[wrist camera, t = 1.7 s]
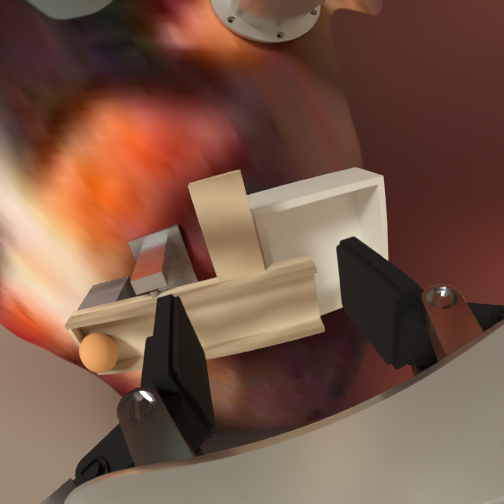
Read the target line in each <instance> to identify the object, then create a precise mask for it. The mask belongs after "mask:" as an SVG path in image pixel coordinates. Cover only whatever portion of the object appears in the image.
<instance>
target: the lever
mask: <svg viewBox="0 0 504 504" xmlns="http://www.w3.org/2000/svg"><path fill="white" fill-rule="evenodd" d="M188 188H189V191H190V194H191V198H192V201H193V204H194V207H195V210H196V214H197V217H198V220H199V223H200V226H201V229H202V232H203V236H204V239H205V242H206V245H207V248H208V251H209V254H210V257H211V260H212V263H213V266H214V269H215V272H216V275H217V277H216V278H212V279H208V280H204V281H200V282H196V283H192V284H188V285H184V286H179V287H175V288H171V289H167V290H163V291H159V290H158V289H155V290H151V291H149V294H146V295H142V296H138V295H136V293H135V291H134V289H133V287H132V285H131V282H130V281H131V280H130V278H129V276H128V277H124V278H120V279H116V280H112V281H109V282H105V283H101V284H97V285H93V287H92V288H91V290H90V291H89V293H88V294H87V296H86V297H85V299H84V300H83V302H82V304H81V305H80V307H79V308H78V310H76V311H74V312H73V313H72V315H71V316H70V318H69V320H68V321H67V323H66V324H65V327H66V328H67V330H68V332H69V333H70V335H71V336H72V338H73V339H74V341H75V342H76V344H77V345H78V347H79V348H80V345H81V342H82V340H83V339H84V338H85V337H86V336H88V335H89V334H92V333H102V334H105V335H107V336H108V337H110V338H111V339H112V340H113V342H114V343H115V345H116V347H117V350H118V358H117V362H116V364H115V366H114V367H113V368H112V369H111V370H109V371H107V372H103V373H98V375H104V374H114V373H123V372H131V371H139V370H142V367H143V358H144V350H145V341H146V338H147V337H150V336H153V330H154V321H155V312H156V304H157V298H159V297H163V296H166V295H169V294H173V296H174V297H176V296H179V297H180V299H181V301H182V304H183V306H184V308H185V311H186V313H187V315H188V317H189V320H190V322H191V324H192V326H193V328H194V331H195V333H196V335H197V337H198V339H199V341H200V343H201V346H202V348H203V350H204V353H205V357H206V360H207V359H213V358H218V357H223V356H228V355H232V354H237V353H242V352H246V351H251V350H255V349H259V348H264V347H268V346H272V345H276V344H280V343H284V342H288V341H292V340H296V339H299V338H303V337H307V336H311V335H314V334H318V333H321V332H325V328H324V325H323V323H322V321H321V319H320V313H319V305H318V298H317V291H316V284H315V278H314V273H317V268H316V266H315V264H314V262H313V261H312V259H311V257H310V256H309V254H307V255H303V256H299V257H295V258H292V259H288V260H284V261H280V262H276V263H272V264H268V265H264V263H263V259H262V255H261V251H260V247H259V243H258V239H257V235H256V231H255V227H254V223H253V219H252V215H251V211H250V207H249V203H248V200H247V196H246V192H245V188H244V184H243V180H242V176H241V172H240V170H236V171H232V172H229V173H225V174H221V175H217V176H214V177H210V178H206V179H203V180H199V181H196V182H192V183H189V185H188Z"/></svg>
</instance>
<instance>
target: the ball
mask: <svg viewBox="0 0 504 504" xmlns="http://www.w3.org/2000/svg"><path fill="white" fill-rule="evenodd" d="M79 353H80V358H81V360H82V362H83V364H84V365H85V366H86V367H87V368H88V369H90V370H91V371H93V372H97V373H103V372H107V371H109V370H111V369H112V368H113V367H114V366H115V364H116V362H117V358H118V350H117V347H116V345H115V343H114V342H113V340H112V339H111V338H110V337H108V336H107V335H105V334H102V333H92V334H89V335H88V336H86V337H85V338H84V339H83V340H82V342H81V345H80V349H79Z"/></svg>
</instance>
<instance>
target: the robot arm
mask: <svg viewBox="0 0 504 504" xmlns="http://www.w3.org/2000/svg"><path fill="white" fill-rule="evenodd" d="M324 1H325V0H210V4H211V7H212V10H213V12H214V14H215V16H216V17H217V18H218V20H219V21H220V22H221V23H222V24H223V25H224V26H225V27H226V28H228V29H229V30H230V31H232V32H233V33H235V34H237V35H239V36H240V37H243V38H246V39H248V40H251V41H256V42H260V43H271V44H273V43H283V42H287V41H292V40H294V39H296V38H298V37H300V36H302V35H303V34H305V33H306V32H308V31H309V30H310V29H311V28H312V27H313V26H314V24H315V23H316V22H317V20H318V17H319V15H320V9H321V3H322V2H324ZM228 21H232V23H229V22H228ZM277 35H279V36H280V38H278V37H277ZM336 253H337V262H338V271H339V281H340V292H341V303H342V306H343V309H344V311H345V312H346V313H347V314H348V316H349V317H350V318H351V319H352V321H353V322H354V323H355V324H356V326H357V327H358V328H359V329H360V330H361V332H362V333H363V334H364V335H365V337H366V338H367V339H368V341H369V342H370V343H371V344H372V346H373V347H374V348H375V349H376V351H377V352H378V353H379V354H380V356H381V357H382V358H383V359H384V361H385V362H386V363H387V364H390V363H391V364H392V365H393V366H394V367H395V369H399V368H401V367H403V366H405V365H406V364H408V365H412V371H413V374H414V377H412V378H410V379H408V380H406V381H405V382H403V383H401V384H399V385H397V386H395V387H393V388H391V389H390V390H388V391H386V392H384V393H382V394H380V395H378V396H375V397H374V398H372V399H369V400H367V401H365V402H363V403H361V404H358V405H357V406H354V407H352V408H350V409H347V410H345V411H343V412H340V413H338V414H336V415H333V416H331V417H328V418H326V419H323V420H321V421H318V422H315V423H313V424H310V425H307V426H304V427H302V428H299V429H296V430H293V431H290V432H287V433H284V434H281V435H278V436H275V437H272V438H269V439H265V440H262V441H258V442H255V443H251V444H247V445H244V446H240V447H236V448H232V449H228V450H224V451H219V452H215V453H210V454H205V453H204V451H203V450H202V448H201V447H200V445H201V444H202V443H203V442H204V441H205V439H207V438H211V437H212V433H211V428H215V419H214V413H213V406H212V400H211V393H210V386H209V379H208V371H207V364H206V357H205V353H204V350H203V348H202V346H201V343H200V341H199V339H198V337H197V335H196V333H195V331H194V328H193V326H192V324H191V322H190V320H189V317H188V315H187V313H186V311H185V308H184V306H183V304H182V301H181V299H180V297H179V296H176V297H174V296H173V294H169V295H166V296H163V297H159V298H157V304H156V312H155V321H154V330H153V336H150V337H147V338H146V341H145V350H144V358H143V367H142V377H141V387H140V388H136V389H134V390H131V391H130V392H128V393H127V394H126V395H125V396H124V397H123V398H122V399H121V400H120V402H119V404H118V407H117V416H118V419H119V422H120V423H119V424H118V425H117V426H116V427H115V428H114V429H113V430H112V431H111V432H110V433H109V434H108V435H107V436H106V437H105V438H104V439H103V440H101V441H100V442H99V443H98V444H97V445H96V446H95V447H94V448H93V449H92V450H91V451H90V452H89V453H88V454H87V455H86V456H85V457H84V458H82V460H81V461H80V462H79V463H78V466H77V468H76V474H75V477H76V478H75V479H74V480H72V479H71V478H70V479H68V480H67V481H66V482H65V483H64V484H63V485H61V486H60V487H59V488H58V489H57V490H56V491H55V492H53V493H52V494H51V495H50V496H49V497H48V498H46V499H45V500H44V501H43V502H42V503H41V504H504V306H502V305H489V304H477V303H466V302H465V300H464V298H463V297H462V295H461V294H460V292H459V291H458V290H457V289H455V288H453V287H451V286H448V285H433V286H430V287H428V288H427V289H425V290H423V289H421V288H420V287H419V284H418V283H416V282H415V281H414V280H413V279H411V278H410V277H409V276H407V275H406V274H405V273H404V272H402V271H401V270H400V269H398V268H397V267H396V266H394V265H393V264H391V263H390V262H389V261H388V260H386V259H385V258H384V257H382V256H381V255H380V254H378V253H377V252H376V251H374V250H373V249H372V248H370V247H369V246H367V245H366V244H365V243H363V242H362V241H360V240H359V239H358V238H356V237H355V236H352V237H349V238H346V239H343V240H340V243H339V245H337V246H336Z"/></svg>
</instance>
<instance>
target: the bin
mask: <svg viewBox="0 0 504 504" xmlns="http://www.w3.org/2000/svg"><path fill="white" fill-rule="evenodd" d="M247 200H248V203H249V207H250V211H251V215H252V219H253V223H254V227H255V231H256V235H257V239H258V243H259V247H260V251H261V255H262V259H263V263H264V265H268V264H272V263H276V262H280V261H284V260H288V259H292V258H295V257H299V256H303V255H307V254H309V256H310V257H311V259H312V261H313V262H314V264H315V266H316V268H317V273H314V278H315V284H316V291H317V298H318V305H319V313H320V316H321V315H323V314H326V313H329V312H331V311H334V310H337V309H339V308H342V307H343V306H342V303H341V292H340V281H339V271H338V262H337V253H336V246H337V245H339V243H340V240H343V239H346V238H349V237H352V236H355V237H356V238H358V239H359V240H360V241H362V242H363V243H365V244H366V245H367V246H369V247H370V248H372V249H373V250H374V251H376V252H377V253H378V254H380V255H381V256H382V257H384V258H385V259H386V260H388V235H387V215H386V201H385V189H384V179H383V176H382V175H379V174H376V173H373V172H369V171H366V170H363V169H359V168H356V167H355V168H351V169H346V170H342V171H338V172H334V173H330V174H326V175H322V176H318V177H314V178H310V179H306V180H302V181H298V182H294V183H290V184H287V185H283V186H279V187H275V188H272V189H268V190H264V191H261V192H257V193H254V194H250V195H247Z"/></svg>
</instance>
